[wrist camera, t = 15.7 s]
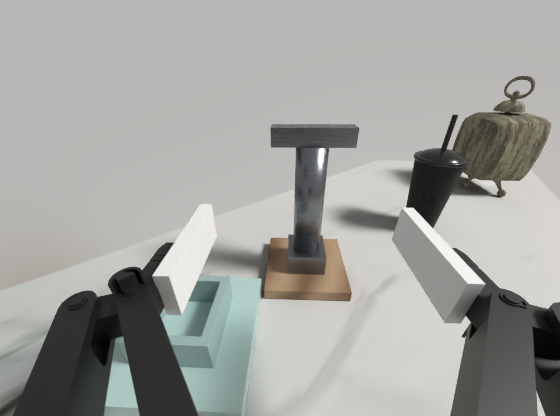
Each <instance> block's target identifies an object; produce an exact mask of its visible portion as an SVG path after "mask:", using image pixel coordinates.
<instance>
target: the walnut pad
mask: <svg viewBox="0 0 560 416" xmlns="http://www.w3.org/2000/svg"><path fill="white" fill-rule="evenodd" d="M323 242H324V248H325V253H326V258H327V259H326V267H325V275H310V274H288V238H271V240H270V248H269V256H268V264H267V271H266V279H265V287H264V298H269V299H301V300H332V301H350V299H351V294H352V292H351V289H350V285H349V282H348V278H347V274H346V271H345V267H344V264H343V260H342V257H341V253H340V249H339V246H338V242H337V239H323Z"/></svg>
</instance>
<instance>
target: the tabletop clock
mask: <svg viewBox="0 0 560 416" xmlns="http://www.w3.org/2000/svg"><path fill="white" fill-rule="evenodd" d="M516 80H528V81H529V82H530V83H531V90H530V91H529V92H528V93H526V94H524V95H519V93H520V92H519V91H515V92H514V93H513V95H511V94H509V93H508V92H507V88H508V86H509V85H510V84H511V83H512V82H514V81H516ZM534 87H535V81H534V79H533V78H532V77H529V76H520V77H516V78H514V79H512V80H511V81H510V82H508V84H507V85H506V87H505V89H504V93H505V96H507V97H508V98H511V99H510V100H509V101H503V102H502V103H500V104H498V105H497V106H496V107H495V108H494V110H495V111H501V112H505V113H475V114H473V115H471V116H469V117H467V118H466V119H465V120H464V122H463V123H462V126H461V127H460V130H459V133H458V135H457V138H456V140H455V143H454V146H453V149H452V151H455V152H457V153H459V154H461V155H462V156H463V157H466V158H467V159H469V161H470V163H469V165H468V166H466V167H465V168H464V170H463V172H464V173H465V174H467V175H468V178H469V179H468V180H467V181H465V182H463V183H462V186H463V187H469V186H470V181H471V180H472V179H474V178H476V179H478V180H493V181H494V182H495V183H496V185H497V187H498V189H499V191H498V192H497V195H498V196H500V197H503V196H505V195H506V191H505V190H502V188H501V180H504V181H520V180H521V179H522V178H523V177H524V176H525V175H526V174H527V173H528V172H529V170H530V169H531V168H532V166H533V164H534V163H535V161H536V160H537V158H538V157H539V155H540V153H541V151H542V149H543V147H544V145H545V143H546V140H547V138H548V135H549V132H550V128H551V123H550V122H549V121H548V120H547V119H545V118H543V117H540V116H536V115H532V114H528V113H510V112H525V105H524V104H523V103H522V102H520V101H517V99H521V98H524V97H526V96H528V95H529V94H531V92H532V91H533V90H534Z"/></svg>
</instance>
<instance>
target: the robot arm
mask: <svg viewBox="0 0 560 416" xmlns="http://www.w3.org/2000/svg"><path fill="white" fill-rule="evenodd" d="M216 237H217V234H216V228H215V222H214V216H213V210H212V204H201V205H200V206H199V207H198V209H197V210H196V212H195V213H194V215H193V216H192V218H191V219H190V221H189V222H188V224H187V225H186V226H185V228H184V229H183V231H182V232H181V234H180V235H179V237H178V238H177V240H176V241H175V243H165V244H164V245H163V246H161V247H160V248H159V249H158V250H157V252H156V253H155V254H154V256H153V257H152V258H151V260H150V261H149V262H148V264H147V265H146V266H145V268H144V269H143V270H141V269H140V268H138V267H129V268H125V269H122V270H120V271H118V272H117V273H115V274H114V275H113V276H112V277H111V278H110V280H109V282H108V286H109V288H110V290H111V292H112V294H109V295H105V296H100V297H97V295H96V294H95V293H94V292H93V291H82V292H79V293H76V294H74V295H72V296H71V297H69V298H67V299H66V300H65V301H64V302H63V303H62V304H61V305H60V307H59V308H58V310H57V313H56V315H55V317H54V320H53V322H52V325H51V327H50V329H49V332H48V334H47V336H46V339H45V341H44V343H43V346H42V348H41V351H40V353H39V355H38V358H37V360H36V362H35V365H34V367H33V370H32V372H31V374H30V377H29V379H28V381H27V384H26V386H25V388H24V391H23V393H22V396H21V398H20V400H19V403H18V405H17V407H16V410H15V412H14V415H13V416H104V410H105V404H106V397H107V391H108V384H109V378H110V372H111V365H112V359H113V352H114V346H115V340H116V338H119V337H123V339H124V344H125V348H126V353H127V358H128V363H129V367H130V372H131V377H132V382H133V386H134V391H135V396H136V401H137V405H138V410H139V415H140V416H199V414H198V412H197V409H196V407H195V404H194V401H193V399H192V396H191V394H190V391H189V388H188V386H187V383H186V381H185V378H184V375H183V373H182V370H181V368H180V365H179V362H178V360H177V357H176V355H175V352H174V349H173V347H172V344H171V342H170V339H169V336H168V334H167V331H166V329H165V326H164V323H163V321H162V318H161V316H160V315H161V313H162V311H163V309H164V308H165V311H166V314H167V315H182V314H183V312H184V309H185V307H186V305H187V303H188V300H189V298H190V296H191V293H192V291H193V289H194V287H195V284H196V282H197V280H198V278H199V275H200V273H201V271H202V269H203V266H204V264H205V262H206V259H207V257H208V255H209V253H210V250H211V248H212V246H213V244H214V241H215V239H216ZM392 241H393V242H394V244H395V245H396V247H397V248H398V250H399V252H400V253H401V255H402V256H403V258H404V259H405V261H406V263H407V264H408V266H409V267H410V269H411V271H412V272H413V274H414V275H415V277H416V278H417V280H418V282H419V283H420V285H421V286H422V288H423V289H424V291H425V293H426V294H427V296H428V297H429V299H430V300H431V302H432V304H433V305H434V307H435V308H436V310H437V311H438V313H439V315H440V316H441V318H442V319H443V321H444V322H445V323H461V322H462V320H463V319H464V317H465V316H467V318H468V319H469V320H470V322H471V323H470V325H469V326H468V328H467V329H466V331H465V332H464V334H463V335H462V337H464V338H465V336H466V339H465V345H464V350H463V355H462V360H461V365H460V370H459V375H458V380H457V385H456V390H455V395H454V400H453V405H452V410H451V415H450V416H538V413H537V396H536V390H537V393H538V396H539V399H540V401H541V404H542V407H543V409H544V412H545V415H546V416H560V302H558V303H553V304H552V305H551V307H550V308H549V309H545V308H541V307H537V306H533V305H529V303H528V302H527V301H526V300H525V299H523V298H522V297H521V296H519V295H518V294H516V293H514V292H512V291H509V290H506V289H500V288H499V287H498V286H497V285H496V284H495V283H494V282H493V281H492V280H491V279H490V278H489V277H488V276H487V275H486V274H485V273H484V272H483V271H482V270H481V269H479V268H478V266H477V265H476V264H475V263H473V261H472V260H471V259H470V258H469V257H468V256H467V255H466V254H464V253H463V252H461V251H460V250H458V249H457V248H451V247H450V246H449V245H448V244H447V243H446V242H445V241H444V240H443V239H442V238H441V237H440V235H439V234H438V233H437V232H436V231H435V230H434V229H433V228H432V227H431V226H430V225H429V224H428V223H427V222H426V221H425V220H424V219H423V218H422V216H421V215H420V214H419V213H418V212H417V211H416V210H415V209H414V208H402V209H401V212H400V215H399V219H398V222H397V225H396V228H395V231H394V235H393V238H392Z"/></svg>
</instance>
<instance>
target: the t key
mask: <svg viewBox="0 0 560 416" xmlns="http://www.w3.org/2000/svg"><path fill="white" fill-rule="evenodd" d="M358 133H359V127H357V126H356V125H330V124H327V125H325V124H323V125H322V124H321V125H320V124H319V125H317V124H315V125H310V124H308V125H306V124H305V125H302V124H300V125H299V124H296V125H294V124H293V125H292V124H288V125H283V124H275V125H274V124H273V125H272V126H271V147H296V169H295V205H294V235H289V238H288V274H310V275H325V267H326V259H327V258H326V253H325V248H324V242H323V237H322V235H320V234H321V224H322V214H323V203H324V193H325V183H326V173H327V163H328V152H329V148H356V145H357V139H358Z"/></svg>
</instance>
